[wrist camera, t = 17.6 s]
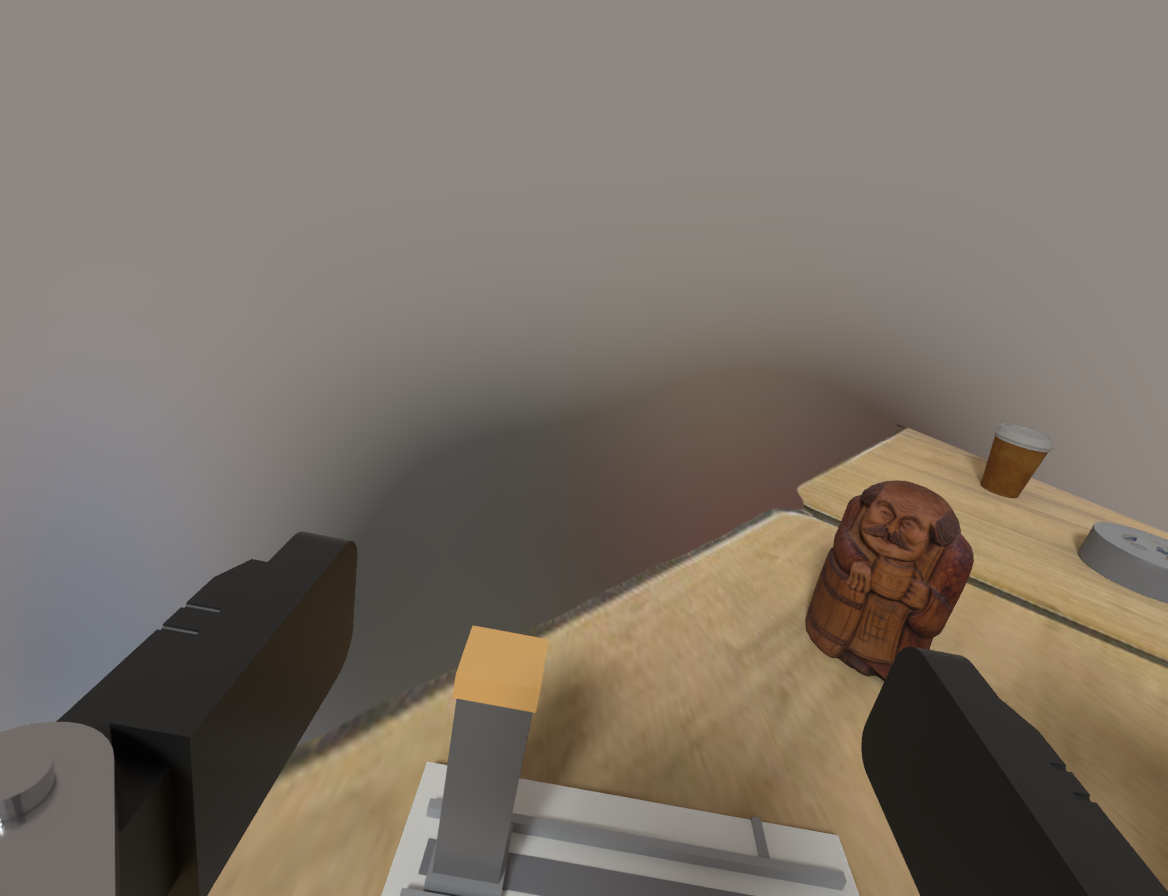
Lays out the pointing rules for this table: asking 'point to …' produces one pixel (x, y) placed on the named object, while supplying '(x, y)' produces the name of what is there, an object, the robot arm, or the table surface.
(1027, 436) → the disposable coffee cup
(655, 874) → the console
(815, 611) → the wooden figurine
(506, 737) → the fader
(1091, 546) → the tape roll
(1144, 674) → the table surface
